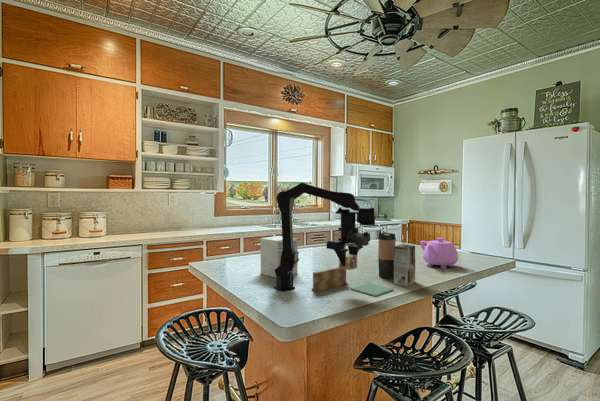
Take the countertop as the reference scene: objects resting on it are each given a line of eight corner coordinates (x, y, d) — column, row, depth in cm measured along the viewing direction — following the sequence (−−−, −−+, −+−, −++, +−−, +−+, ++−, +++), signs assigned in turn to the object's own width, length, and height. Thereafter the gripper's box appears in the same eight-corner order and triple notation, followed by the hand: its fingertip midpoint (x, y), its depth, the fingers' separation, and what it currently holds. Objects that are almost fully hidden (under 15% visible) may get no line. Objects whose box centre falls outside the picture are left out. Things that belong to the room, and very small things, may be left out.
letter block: (349, 270, 120) (349, 257, 120) (339, 267, 124) (339, 255, 124) (358, 268, 123) (358, 255, 123) (347, 265, 127) (347, 253, 127)
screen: (317, 293, 124) (317, 273, 124) (310, 290, 127) (310, 271, 127) (348, 284, 136) (348, 266, 135) (341, 282, 139) (341, 265, 138)
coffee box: (401, 279, 143) (401, 243, 143) (415, 282, 139) (415, 245, 139) (393, 284, 136) (393, 246, 136) (408, 286, 132) (408, 247, 132)
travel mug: (398, 278, 146) (399, 234, 145) (385, 279, 143) (385, 235, 143) (388, 274, 153) (388, 232, 152) (375, 275, 150) (375, 233, 150)
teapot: (408, 265, 171) (408, 237, 171) (427, 260, 184) (427, 234, 184) (444, 272, 156) (445, 241, 156) (462, 266, 169) (462, 238, 169)
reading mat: (375, 296, 119) (375, 295, 119) (350, 289, 128) (350, 288, 128) (393, 290, 127) (393, 288, 127) (369, 284, 136) (369, 282, 136)
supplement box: (298, 273, 154) (298, 237, 154) (277, 278, 145) (277, 240, 145) (280, 269, 164) (280, 235, 164) (259, 273, 155) (259, 237, 154)
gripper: (348, 228, 111) (348, 272, 112) (379, 225, 123) (379, 265, 124) (325, 226, 120) (325, 267, 120) (357, 223, 132) (357, 260, 132)
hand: (348, 265), depth 124 cm, fingers closed on letter block, 5 cm apart
